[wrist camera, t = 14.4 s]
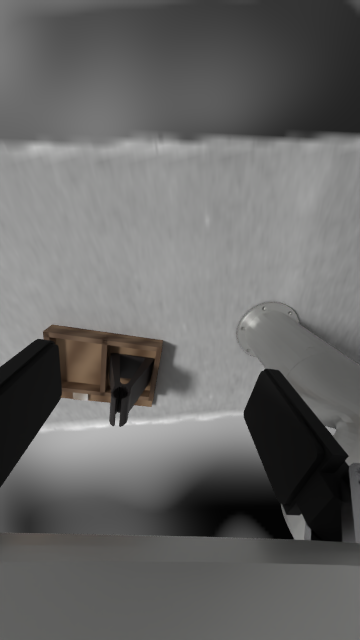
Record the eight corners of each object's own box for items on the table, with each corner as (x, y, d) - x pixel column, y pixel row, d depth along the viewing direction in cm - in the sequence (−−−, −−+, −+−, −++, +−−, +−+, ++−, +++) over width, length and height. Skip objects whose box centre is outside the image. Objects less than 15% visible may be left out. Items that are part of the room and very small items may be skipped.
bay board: (162, 340, 40) (162, 348, 38) (151, 403, 47) (150, 413, 45) (52, 324, 38) (42, 331, 35) (57, 393, 45) (50, 403, 42)
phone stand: (154, 358, 41) (148, 402, 30) (150, 380, 43) (143, 429, 32) (111, 352, 40) (88, 396, 29) (109, 375, 42) (88, 424, 31)
